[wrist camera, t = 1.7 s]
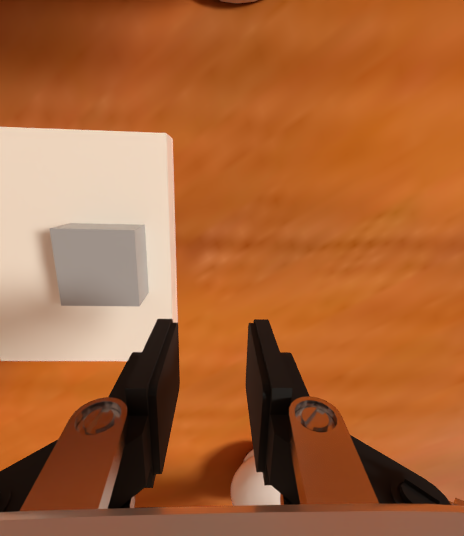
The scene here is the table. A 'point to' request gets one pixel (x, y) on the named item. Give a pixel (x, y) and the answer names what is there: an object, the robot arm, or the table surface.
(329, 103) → the table surface
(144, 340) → the plate
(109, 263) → the grey square block
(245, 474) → the flower vase
